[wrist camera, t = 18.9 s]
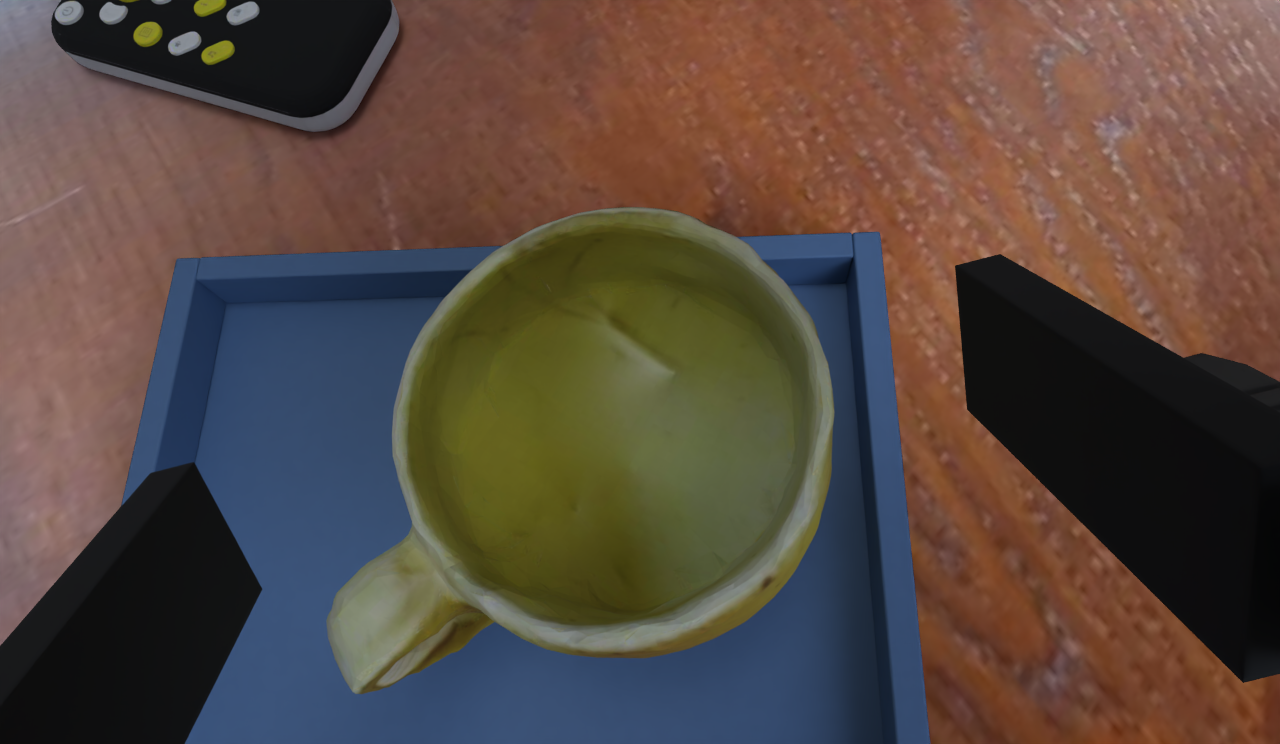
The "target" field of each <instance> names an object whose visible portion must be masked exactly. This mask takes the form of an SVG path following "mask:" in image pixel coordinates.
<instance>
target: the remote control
mask: <svg viewBox="0 0 1280 744" xmlns="http://www.w3.org/2000/svg"><path fill="white" fill-rule="evenodd" d="M51 25H52V33H53V36H54V38H55V40H56V42H57V43H58V45H59V46H60V47H61V48H62V49H63V50H64V51H65V52H66V53H67V54H68V55H70V56H71V57H72V58H73V59H74V60H75V61H76V62H77V63H79V64H80V65H82V66H85V67H87V68H89V69H92V70H96V71H99V72H103V73H106V74H110V75H113V76H117V77H120V78H124V79H127V80H131V81H134V82H137V83H141V84H144V85H148V86H151V87H155V88H158V89H162V90H165V91H169V92H172V93H176V94H179V95H183V96H186V97H190V98H193V99H197V100H200V101H204V102H207V103H211V104H214V105H217V106H221V107H224V108H228V109H231V110H235V111H238V112H242V113H245V114H249V115H252V116H256V117H259V118H263V119H266V120H270V121H273V122H277V123H280V124H284V125H287V126H291V127H294V128H297V129H301V130H305V131H311V132H318V131H327V130H330V129H333V128H336V127H338V126H339V125H341V124H343V123H344V122H346V121H347V120H348V119H349V118H350V117H351V116H352V115H353V113H354V112H355V111H356V109H357V108H358V106H359V104H360V102H361V101H362V99H363V97H364V95H365V94H366V92H367V90H368V88H369V86H370V85H371V83H372V81H373V79H374V78H375V76H376V74H377V72H378V71H379V69H380V67H381V65H382V63H383V62H384V60H385V58H386V56H387V55H388V53H389V51H390V49H391V48H392V46H393V44H394V42H395V40H396V38H397V35H398V33H399V18H398V14H397V11H396V8H395V6H394V4H393V2H392V0H61V2H60V3H59V4H58V6H57V8H56V10H55V11H54V13H53V17H52V21H51Z"/></svg>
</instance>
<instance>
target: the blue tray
mask: <svg viewBox="0 0 1280 744" xmlns="http://www.w3.org/2000/svg"><path fill="white" fill-rule="evenodd" d="M737 238H739V239H740V240H742V241H744V242H746V243H748V244H749V245H750V246H751V247H752V248H753V249H754V250H755V251H756V253H757V254H758V255H759V257H760V258H761V259H762V260H763V261H764V262H765V263H766V264H767V265H769V266H770V267H771V268H772V269H773V270H775V271H776V273H777V274H778V275H779V277H780V278H781V279H783V280H784V282H785V283H786V284H787V285H788V286H789V288H790V289H791V290H792V292H793V293H794V294H795V296H796V297H797V299H798V300H799V301H800V303H801V304H802V305H803V306H804V308H805V309H806V310H807V312H808V313H809V315H810V316H811V318H812V320H813V322H814V324H815V327H816V330H817V333H818V337H819V341H820V344H821V346H822V349H823V352H824V355H825V357H826V360H827V361H828V366H829V372H830V378H831V384H832V389H833V401H834V422H833V436H832V472H831V479H830V484H829V488H828V492H827V496H826V500H825V503H824V507H823V510H822V514H821V518H820V522H819V526H818V529H817V531H816V533H815V536H814V537H813V539H812V541H811V543H810V545H809V547H808V549H807V551H806V552H805V554H804V556H803V558H802V560H801V561H800V563H799V565H798V567H797V569H796V570H795V572H794V573H793V575H792V576H791V577H790V579H789V580H788V581H787V583H786V584H785V585H784V586H783V587H782V588H781V590H780V591H779V592H778V593H777V594H776V596H775V597H774V598H773V599H771V600H770V601H769V602H768V603H767V604H766V605H765V606H764V607H763V608H761V609H760V610H759V611H758V612H757V613H756V614H754V615H753V616H752V617H751V618H749V619H748V620H747V621H746V622H744V623H742V624H741V625H739V626H737V627H735V628H733V629H731V630H729V631H728V632H726V633H724V634H722V635H720V636H718V637H716V638H714V639H712V640H709V641H707V642H704V643H702V644H699V645H697V646H694V647H692V648H689V649H686V650H682V651H678V652H674V653H670V654H666V655H661V656H655V657H650V658H596V657H586V656H576V655H569V654H564V653H560V652H556V651H551V650H547V649H544V648H542V647H540V646H537V645H535V644H533V643H530V642H528V641H526V640H523V639H522V638H520V637H518V636H517V635H515V634H514V633H512V632H510V631H509V630H507V629H505V628H504V627H502V626H501V625H499V624H497V623H496V622H494V623H492V624H491V625H489V626H487V627H486V628H484V629H483V630H481V631H480V632H479V633H477V634H476V635H475V636H474V637H473V638H472V639H471V640H470V641H469V642H468V643H467V644H466V645H465V646H464V647H463V648H462V649H461V650H459V651H458V652H455V653H450V654H449V655H447V656H446V657H444V658H442V659H441V660H439V661H437V662H435V663H433V664H432V665H430V666H428V667H427V668H425V669H423V670H422V671H420V672H419V673H414V674H411V675H408V676H406V677H405V678H403V679H401V680H400V681H398V682H397V683H395V684H393V685H392V686H390V687H387V688H383V689H381V690H377V691H373V692H368V693H364V694H355V693H354V692H352V690H351V689H350V687H349V686H348V684H347V683H346V681H345V679H344V677H343V675H342V673H341V671H340V669H339V667H338V664H337V662H336V660H335V657H334V654H333V651H332V647H331V645H330V642H329V639H328V633H327V622H326V620H327V617H328V615H329V613H330V611H331V609H332V605H333V601H334V598H335V596H336V594H337V592H338V591H339V590H340V589H341V588H342V587H343V586H344V585H345V584H346V583H347V582H348V581H349V580H350V579H351V578H352V577H353V576H354V575H355V574H356V573H357V572H358V571H359V570H360V569H361V568H362V567H363V566H365V565H366V564H367V563H368V562H370V561H371V560H373V559H375V558H376V557H378V556H379V555H381V554H383V553H384V552H386V551H387V550H389V549H390V548H392V547H393V546H395V545H397V544H398V543H400V542H401V541H402V540H403V539H404V538H405V537H406V536H408V534H409V532H410V529H411V527H412V520H411V517H410V514H409V511H408V508H407V505H406V502H405V499H404V496H403V493H402V490H401V486H400V483H399V480H398V476H397V471H396V466H395V463H394V459H393V451H392V426H393V411H394V405H395V401H396V397H397V393H398V389H399V386H400V382H401V378H402V375H403V371H404V367H405V364H406V361H407V358H408V355H409V352H410V350H411V348H412V347H413V345H414V343H415V341H416V339H417V337H418V335H419V333H420V331H421V330H422V328H423V326H424V325H425V323H426V322H427V321H428V320H429V318H430V317H431V316H432V314H433V313H434V312H435V310H436V309H437V307H438V305H439V304H440V303H441V301H442V300H443V299H444V298H445V297H446V296H447V295H448V294H449V293H450V292H451V291H452V290H453V289H454V287H455V286H456V285H457V284H458V283H459V282H460V281H461V280H462V279H463V278H464V277H465V276H466V275H467V274H468V273H469V272H470V271H471V270H473V269H474V268H475V267H476V266H477V265H478V264H480V263H481V262H482V261H483V260H484V259H485V258H487V257H488V256H489V255H490V254H491V253H492V252H494V251H496V250H497V249H499V248H501V247H502V246H488V247H462V248H436V249H410V250H383V251H357V252H331V253H305V254H279V255H253V256H227V257H202V258H201V259H200V258H181V259H177V260H176V264H175V269H174V273H173V277H172V282H171V286H170V291H169V295H168V300H167V304H166V309H165V313H164V318H163V322H162V326H161V331H160V335H159V340H158V344H157V349H156V353H155V358H154V362H153V367H152V371H151V375H150V380H149V384H148V389H147V393H146V398H145V402H144V407H143V411H142V416H141V420H140V424H139V429H138V433H137V438H136V442H135V447H134V451H133V456H132V460H131V465H130V469H129V473H128V478H127V482H126V487H125V491H124V496H123V500H122V505H123V504H124V503H125V502H126V500H127V499H128V498H129V497H130V496H131V495H132V493H133V492H134V491H135V490H136V489H137V488H138V486H139V485H140V484H141V483H142V482H143V481H144V480H145V478H146V477H147V476H148V475H149V474H150V473H152V472H156V471H160V470H164V469H168V468H172V467H176V466H179V465H183V464H187V463H191V462H194V463H195V465H196V466H197V468H198V470H199V472H200V474H201V476H202V478H203V480H204V481H205V483H206V485H207V487H208V489H209V491H210V493H211V494H212V496H213V498H214V500H215V502H216V504H217V506H218V507H219V509H220V511H221V513H222V515H223V517H224V519H225V520H226V522H227V524H228V526H229V528H230V530H231V532H232V533H233V535H234V537H235V539H236V541H237V543H238V545H239V546H240V548H241V550H242V552H243V554H244V556H245V558H246V559H247V561H248V563H249V565H250V567H251V569H252V571H253V573H254V574H255V576H256V578H257V580H258V582H259V584H260V586H261V587H262V591H261V593H260V595H259V597H258V599H257V601H256V603H255V605H254V607H253V609H252V611H251V613H250V615H249V617H248V619H247V621H246V623H245V625H244V627H243V629H242V631H241V633H240V635H239V637H238V639H237V641H236V643H235V645H234V647H233V649H232V651H231V653H230V655H229V657H228V659H227V661H226V663H225V665H224V667H223V669H222V671H221V673H220V675H219V677H218V679H217V681H216V683H215V685H214V687H213V689H212V691H211V693H210V694H209V696H208V698H207V700H206V702H205V704H204V706H203V708H202V710H201V712H200V714H199V716H198V718H197V720H196V722H195V724H194V726H193V728H192V730H191V732H190V734H189V736H188V738H187V740H186V742H185V744H930V736H929V726H928V716H927V706H926V696H925V686H924V675H923V665H922V655H921V645H920V635H919V624H918V614H917V604H916V594H915V584H914V574H913V563H912V553H911V543H910V533H909V523H908V513H907V502H906V492H905V482H904V472H903V462H902V451H901V441H900V431H899V421H898V411H897V401H896V390H895V380H894V370H893V360H892V350H891V339H890V329H889V319H888V309H887V299H886V289H885V278H884V268H883V258H882V248H881V238H880V233H879V232H859V233H853V234H851V233H828V234H801V235H775V236H749V237H737ZM122 505H121V506H122Z"/></svg>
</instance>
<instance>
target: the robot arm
mask: <svg viewBox="0 0 1280 744" xmlns="http://www.w3.org/2000/svg"><path fill="white" fill-rule="evenodd" d="M955 270H956V282H957V294H958V306H959V317H960V329H961V341H962V353H963V365H964V377H965V389H966V401H967V410H968V411H969V412H970V413H971V414H972V415H973V416H974V417H975V418H976V419H977V420H978V421H979V422H980V423H981V424H982V425H983V426H985V427H986V428H987V429H988V430H989V431H990V432H991V433H992V434H993V435H994V436H995V437H996V438H997V439H998V440H999V441H1000V442H1001V443H1002V444H1003V445H1004V446H1005V447H1006V448H1007V449H1008V450H1009V451H1010V452H1011V453H1012V454H1013V455H1014V456H1015V457H1016V458H1017V459H1018V460H1019V461H1020V462H1021V463H1022V464H1023V465H1024V466H1025V467H1026V468H1027V469H1028V470H1029V471H1030V472H1031V473H1032V474H1033V475H1034V476H1035V477H1036V478H1037V479H1038V480H1039V481H1040V482H1041V483H1042V484H1043V485H1044V486H1045V487H1046V488H1047V489H1048V490H1049V491H1050V492H1051V493H1052V494H1053V495H1054V496H1055V497H1056V498H1057V499H1058V500H1059V501H1060V502H1061V503H1062V504H1063V505H1064V506H1065V507H1066V508H1067V509H1068V510H1069V511H1070V512H1071V513H1072V514H1073V515H1074V516H1075V517H1076V518H1077V519H1078V520H1079V521H1080V522H1081V523H1082V524H1083V525H1084V526H1085V527H1086V528H1088V529H1089V530H1090V531H1091V532H1092V533H1093V534H1094V535H1095V536H1096V537H1097V538H1098V539H1099V540H1100V541H1101V542H1102V543H1103V544H1104V545H1105V546H1106V547H1107V548H1108V549H1109V550H1110V551H1111V552H1112V553H1113V554H1114V555H1115V556H1116V557H1117V558H1118V559H1119V560H1120V561H1121V562H1122V563H1123V564H1124V565H1125V566H1126V567H1127V568H1128V569H1129V570H1130V571H1131V572H1132V573H1133V574H1134V575H1135V576H1136V577H1137V578H1138V579H1139V580H1140V581H1141V582H1142V583H1143V584H1144V585H1145V586H1146V587H1147V588H1148V589H1149V590H1150V591H1151V592H1152V593H1153V594H1154V595H1155V596H1156V597H1157V598H1158V599H1159V600H1160V601H1161V602H1162V603H1163V604H1164V605H1165V606H1166V607H1167V608H1168V609H1169V610H1170V611H1171V612H1172V613H1173V614H1174V615H1175V616H1176V617H1177V618H1178V619H1179V620H1180V621H1181V622H1182V623H1183V624H1184V625H1185V626H1186V627H1187V628H1188V629H1189V630H1191V631H1192V632H1193V633H1194V634H1195V635H1196V636H1197V637H1198V638H1199V639H1200V640H1201V641H1202V642H1203V643H1204V644H1205V645H1206V646H1207V647H1208V648H1209V649H1210V650H1211V651H1212V652H1213V653H1214V654H1215V655H1216V656H1217V657H1218V658H1219V659H1220V660H1221V661H1222V662H1223V663H1224V664H1225V665H1226V666H1227V667H1228V668H1229V669H1230V670H1231V671H1232V672H1233V673H1234V674H1235V675H1236V676H1237V677H1238V678H1239V679H1240V680H1241V681H1242V682H1243V683H1244V682H1248V681H1252V680H1256V679H1260V678H1264V677H1268V676H1272V675H1276V674H1280V382H1279V381H1277V380H1275V379H1273V378H1271V377H1269V376H1267V375H1265V374H1263V373H1262V372H1260V371H1258V370H1256V369H1254V368H1252V367H1250V366H1248V365H1246V364H1242V363H1238V362H1235V361H1231V360H1227V359H1223V358H1219V357H1215V356H1211V355H1207V354H1203V353H1200V354H1196V355H1193V356H1189V357H1185V358H1183V357H1181V356H1179V355H1177V354H1176V353H1174V352H1172V351H1170V350H1169V349H1167V348H1165V347H1163V346H1161V345H1160V344H1158V343H1156V342H1154V341H1153V340H1151V339H1149V338H1147V337H1146V336H1144V335H1142V334H1140V333H1139V332H1137V331H1135V330H1133V329H1131V328H1130V327H1128V326H1126V325H1124V324H1123V323H1121V322H1119V321H1117V320H1116V319H1114V318H1112V317H1110V316H1109V315H1107V314H1105V313H1103V312H1101V311H1100V310H1098V309H1096V308H1094V307H1093V306H1091V305H1089V304H1087V303H1086V302H1084V301H1082V300H1080V299H1078V298H1077V297H1075V296H1073V295H1071V294H1070V293H1068V292H1066V291H1064V290H1063V289H1061V288H1059V287H1057V286H1056V285H1054V284H1052V283H1050V282H1048V281H1047V280H1045V279H1043V278H1041V277H1040V276H1038V275H1036V274H1034V273H1033V272H1031V271H1029V270H1027V269H1026V268H1024V267H1022V266H1020V265H1018V264H1017V263H1015V262H1013V261H1011V260H1010V259H1008V258H1006V257H1004V256H1003V255H1001V254H999V255H995V256H991V257H987V258H983V259H979V260H976V261H972V262H968V263H964V264H960V265H956V266H955ZM261 591H262V587H261V586H260V584H259V582H258V580H257V578H256V576H255V574H254V573H253V571H252V569H251V567H250V565H249V563H248V561H247V559H246V558H245V556H244V554H243V552H242V550H241V548H240V546H239V545H238V543H237V541H236V539H235V537H234V535H233V533H232V532H231V530H230V528H229V526H228V524H227V522H226V520H225V519H224V517H223V515H222V513H221V511H220V509H219V507H218V506H217V504H216V502H215V500H214V498H213V496H212V494H211V493H210V491H209V489H208V487H207V485H206V483H205V481H204V480H203V478H202V476H201V474H200V472H199V470H198V468H197V466H196V465H195V463H194V462H191V463H187V464H183V465H179V466H176V467H172V468H168V469H164V470H160V471H156V472H152V473H150V474H149V475H148V476H147V477H146V478H145V480H144V481H143V482H142V483H141V484H140V485H139V486H138V488H137V489H136V490H135V491H134V492H133V493H132V495H131V496H130V497H129V498H128V499H127V500H126V502H125V503H124V504H123V505H122V506H121V507H120V508H119V510H118V511H117V512H116V513H115V514H114V515H113V517H112V518H111V519H110V520H109V521H108V522H107V523H106V525H105V526H104V527H103V528H102V529H101V530H100V532H99V533H98V534H97V535H96V536H95V537H94V538H93V540H92V541H91V542H90V543H89V544H88V545H87V547H86V548H85V549H84V550H83V551H82V552H81V553H80V555H79V556H78V557H77V558H76V559H75V560H74V562H73V563H72V564H71V565H70V566H69V567H68V568H67V570H66V571H65V572H64V573H63V574H62V575H61V577H60V578H59V579H58V580H57V581H56V582H55V583H54V585H53V586H52V587H51V588H50V589H49V590H48V592H47V593H46V594H45V595H44V596H43V597H42V599H41V600H40V601H39V602H38V603H37V604H36V605H35V607H34V608H33V609H32V610H31V611H30V612H29V614H28V615H27V616H26V617H25V618H24V619H23V620H22V622H21V623H20V624H19V625H18V626H17V627H16V629H15V630H14V631H13V632H12V633H11V634H10V635H9V637H8V638H7V639H6V640H5V641H4V642H3V644H2V645H1V646H0V744H185V742H186V740H187V738H188V736H189V734H190V732H191V730H192V728H193V726H194V724H195V722H196V720H197V718H198V716H199V714H200V712H201V710H202V708H203V706H204V704H205V702H206V700H207V698H208V696H209V694H210V693H211V691H212V689H213V687H214V685H215V683H216V681H217V679H218V677H219V675H220V673H221V671H222V669H223V667H224V665H225V663H226V661H227V659H228V657H229V655H230V653H231V651H232V649H233V647H234V645H235V643H236V641H237V639H238V637H239V635H240V633H241V631H242V629H243V627H244V625H245V623H246V621H247V619H248V617H249V615H250V613H251V611H252V609H253V607H254V605H255V603H256V601H257V599H258V597H259V595H260V593H261Z"/></svg>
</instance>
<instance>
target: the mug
mask: <svg viewBox="0 0 1280 744" xmlns="http://www.w3.org/2000/svg"><path fill="white" fill-rule="evenodd" d="M833 422H834V401H833V389H832V384H831V378H830V372H829V366H828V361H827V360H826V357H825V355H824V352H823V349H822V346H821V344H820V341H819V337H818V333H817V330H816V327H815V324H814V322H813V320H812V318H811V316H810V315H809V313H808V312H807V310H806V309H805V308H804V306H803V305H802V304H801V303H800V301H799V300H798V299H797V297H796V296H795V294H794V293H793V292H792V290H791V289H790V288H789V286H788V285H787V284H786V283H785V282H784V280H783V279H781V278H780V277H779V275H778V274H777V273H776V271H775V270H773V269H772V268H771V267H770V266H769V265H767V264H766V263H765V262H764V261H763V260H762V259H761V258H760V257H759V255H758V254H757V253H756V251H755V250H754V249H753V248H752V247H751V246H750V245H749V244H748V243H746V242H744V241H742V240H740V239H739V238H737V237H735V236H733V235H731V234H729V233H726V232H724V231H722V230H719V229H717V228H714V227H712V226H709V225H706V224H705V223H703V222H702V221H700V220H699V219H696V218H694V217H692V216H689V215H686V214H683V213H680V212H677V211H671V210H664V209H656V208H643V207H621V208H607V209H600V210H594V211H588V212H582V213H578V214H575V215H572V216H568V217H565V218H562V219H559V220H556V221H553V222H550V223H547V224H544V225H542V226H539V227H537V228H535V229H533V230H531V231H529V232H527V233H525V234H524V235H522V236H520V237H518V238H517V239H515V240H513V241H511V242H510V243H508V244H506V245H504V246H502V247H501V248H499V249H497V250H496V251H494V252H492V253H491V254H490V255H489V256H488V257H487V258H485V259H484V260H483V261H482V262H481V263H480V264H478V265H477V266H476V267H475V268H474V269H473V270H471V271H470V272H469V273H468V274H467V275H466V276H465V277H464V278H463V279H462V280H461V281H460V282H459V283H458V284H457V285H456V286H455V287H454V289H453V290H452V291H451V292H450V293H449V294H448V295H447V296H446V297H445V298H444V299H443V300H442V301H441V303H440V304H439V305H438V307H437V309H436V310H435V312H434V313H433V314H432V316H431V317H430V318H429V320H428V321H427V322H426V323H425V325H424V326H423V328H422V330H421V331H420V333H419V335H418V337H417V339H416V341H415V343H414V345H413V347H412V348H411V350H410V352H409V355H408V358H407V361H406V364H405V367H404V371H403V375H402V378H401V382H400V386H399V389H398V393H397V397H396V401H395V405H394V411H393V426H392V451H393V459H394V463H395V466H396V471H397V476H398V480H399V483H400V486H401V490H402V493H403V496H404V499H405V502H406V505H407V508H408V511H409V514H410V517H411V520H412V527H411V529H410V532H409V534H408V536H406V537H405V538H404V539H403V540H402V541H401V542H400V543H398V544H397V545H395V546H393V547H392V548H390V549H389V550H387V551H386V552H384V553H383V554H381V555H379V556H378V557H376V558H375V559H373V560H371V561H370V562H368V563H367V564H366V565H365V566H363V567H362V568H361V569H360V570H359V571H358V572H357V573H356V574H355V575H354V576H353V577H352V578H351V579H350V580H349V581H348V582H347V583H346V584H345V585H344V586H343V587H342V588H341V589H340V590H339V591H338V592H337V594H336V596H335V598H334V601H333V605H332V609H331V611H330V613H329V615H328V617H327V620H326V622H327V633H328V639H329V642H330V645H331V647H332V651H333V654H334V657H335V660H336V662H337V664H338V667H339V669H340V671H341V673H342V675H343V677H344V679H345V681H346V683H347V684H348V686H349V687H350V689H351V690H352V692H354V693H355V694H364V693H368V692H373V691H377V690H381V689H383V688H387V687H390V686H392V685H393V684H395V683H397V682H398V681H400V680H401V679H403V678H405V677H406V676H408V675H411V674H414V673H419V672H420V671H422V670H423V669H425V668H427V667H428V666H430V665H432V664H433V663H435V662H437V661H439V660H441V659H442V658H444V657H446V656H447V655H449V654H450V653H455V652H458V651H459V650H461V649H462V648H463V647H464V646H465V645H466V644H467V643H468V642H469V641H470V640H471V639H472V638H473V637H474V636H475V635H476V634H477V633H479V632H480V631H481V630H483V629H484V628H486V627H487V626H489V625H491V624H492V623H494V622H496V623H497V624H499V625H501V626H502V627H504V628H505V629H507V630H509V631H510V632H512V633H514V634H515V635H517V636H518V637H520V638H522V639H523V640H526V641H528V642H530V643H533V644H535V645H537V646H540V647H542V648H544V649H547V650H551V651H556V652H560V653H564V654H569V655H576V656H586V657H596V658H650V657H655V656H661V655H666V654H670V653H674V652H678V651H682V650H686V649H689V648H692V647H694V646H697V645H699V644H702V643H704V642H707V641H709V640H712V639H714V638H716V637H718V636H720V635H722V634H724V633H726V632H728V631H729V630H731V629H733V628H735V627H737V626H739V625H741V624H742V623H744V622H746V621H747V620H748V619H749V618H751V617H752V616H753V615H754V614H756V613H757V612H758V611H759V610H760V609H761V608H763V607H764V606H765V605H766V604H767V603H768V602H769V601H770V600H771V599H773V598H774V597H775V596H776V594H777V593H778V592H779V591H780V590H781V588H782V587H783V586H784V585H785V584H786V583H787V581H788V580H789V579H790V577H791V576H792V575H793V573H794V572H795V570H796V569H797V567H798V565H799V563H800V561H801V560H802V558H803V556H804V554H805V552H806V551H807V549H808V547H809V545H810V543H811V541H812V539H813V537H814V536H815V533H816V531H817V529H818V526H819V522H820V518H821V514H822V510H823V507H824V503H825V500H826V496H827V492H828V488H829V484H830V479H831V472H832V436H833Z"/></svg>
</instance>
